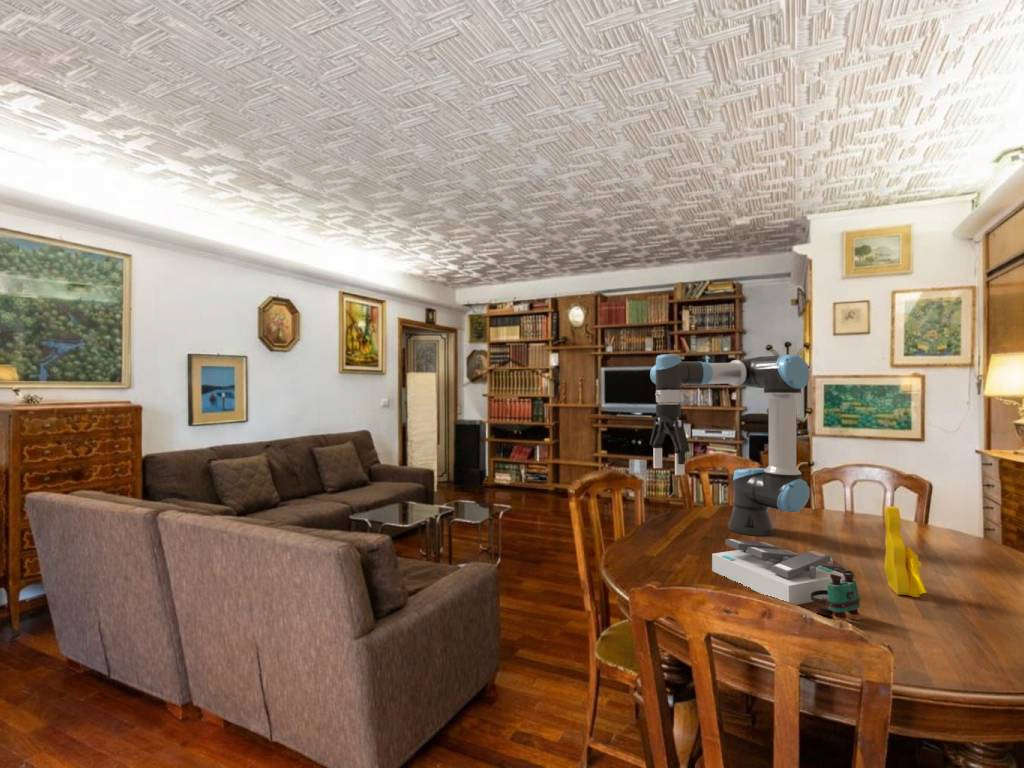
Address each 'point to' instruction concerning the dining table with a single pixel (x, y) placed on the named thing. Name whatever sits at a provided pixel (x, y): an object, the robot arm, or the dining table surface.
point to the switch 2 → (770, 553)
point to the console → (772, 576)
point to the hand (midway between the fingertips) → (668, 471)
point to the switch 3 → (800, 563)
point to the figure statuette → (900, 559)
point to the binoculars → (840, 598)
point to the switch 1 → (748, 544)
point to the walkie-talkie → (833, 566)
